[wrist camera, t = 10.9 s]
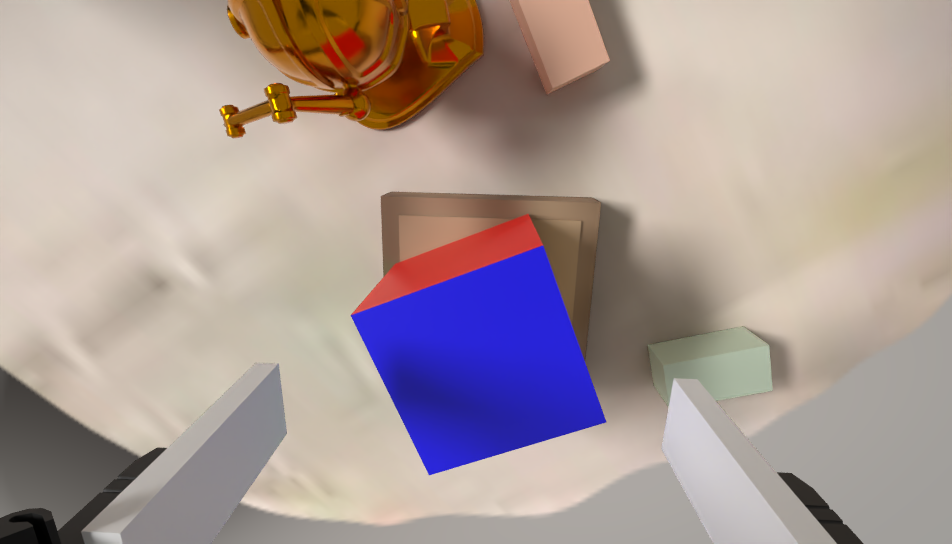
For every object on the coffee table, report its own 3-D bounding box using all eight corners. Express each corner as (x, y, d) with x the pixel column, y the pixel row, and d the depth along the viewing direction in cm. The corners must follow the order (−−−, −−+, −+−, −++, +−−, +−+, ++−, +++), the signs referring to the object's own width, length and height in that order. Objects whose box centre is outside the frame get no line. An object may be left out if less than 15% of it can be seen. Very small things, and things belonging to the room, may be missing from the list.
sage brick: (652, 383, 30) (669, 409, 27) (646, 343, 29) (663, 365, 26) (745, 366, 29) (772, 390, 26) (741, 325, 28) (769, 345, 25)
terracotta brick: (596, 70, 25) (609, 60, 22) (546, 95, 25) (552, 88, 22) (555, -42, 23) (564, -69, 20) (503, -14, 24) (504, -36, 21)
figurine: (272, -18, 24) (65, -171, 12) (467, -66, 23) (438, -280, 11) (316, 143, 26) (175, 141, 15) (496, 106, 25) (496, 73, 14)
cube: (528, 213, 24) (543, 245, 16) (573, 340, 26) (606, 422, 18) (395, 263, 25) (350, 315, 18) (448, 382, 27) (429, 475, 19)
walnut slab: (396, 370, 30) (387, 391, 27) (391, 191, 27) (380, 196, 24) (574, 378, 30) (581, 400, 27) (591, 197, 26) (601, 203, 24)
